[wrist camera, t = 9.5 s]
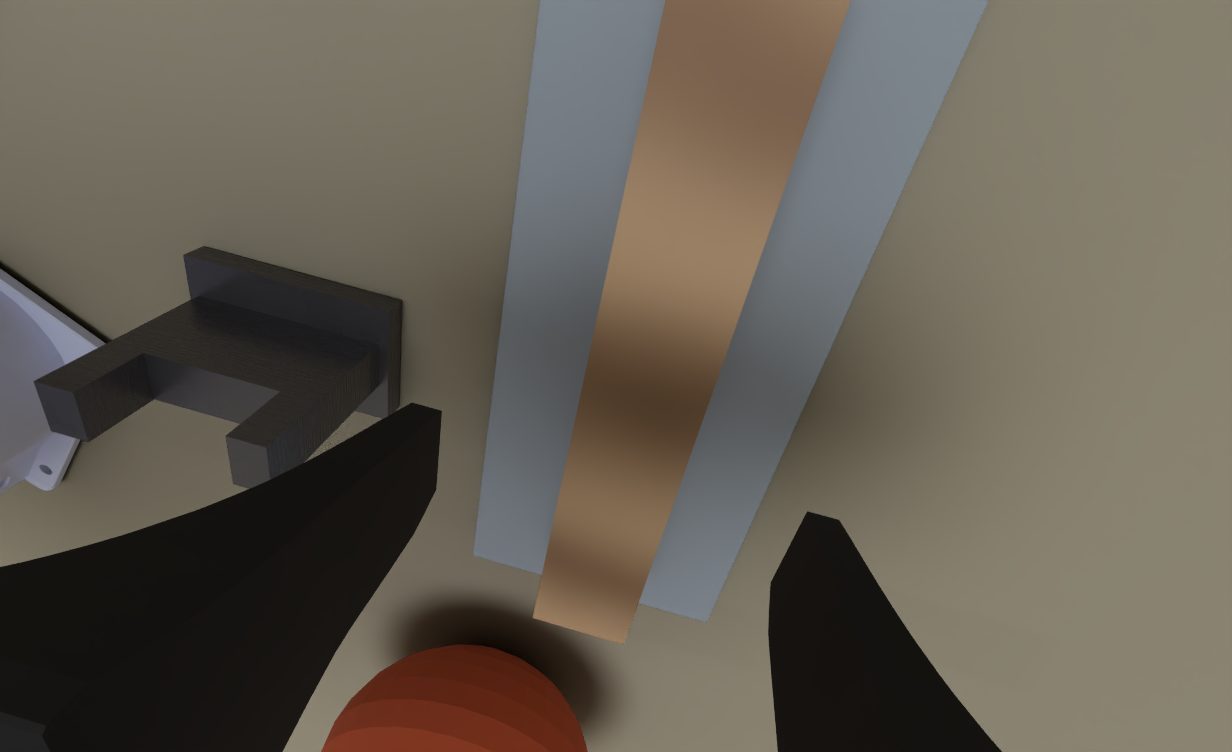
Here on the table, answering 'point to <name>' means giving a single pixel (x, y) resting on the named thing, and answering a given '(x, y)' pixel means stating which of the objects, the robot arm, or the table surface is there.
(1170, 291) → the table surface
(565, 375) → the mat
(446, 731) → the tomato
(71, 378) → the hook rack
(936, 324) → the table surface
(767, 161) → the wavy strip
